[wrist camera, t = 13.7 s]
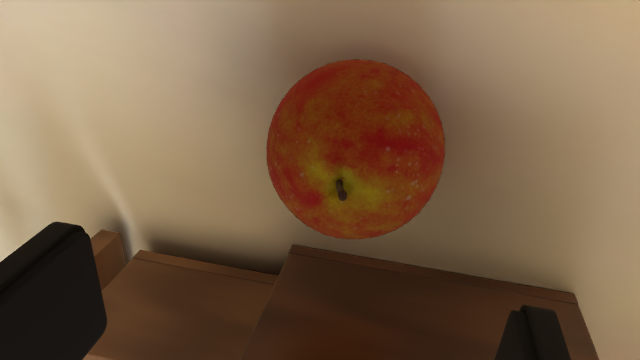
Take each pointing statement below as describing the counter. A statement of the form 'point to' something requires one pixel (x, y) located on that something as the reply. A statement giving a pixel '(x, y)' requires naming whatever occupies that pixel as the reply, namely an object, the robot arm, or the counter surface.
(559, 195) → the counter surface
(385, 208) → the fruit
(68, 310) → the robot arm
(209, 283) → the drawer
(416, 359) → the cabinet
